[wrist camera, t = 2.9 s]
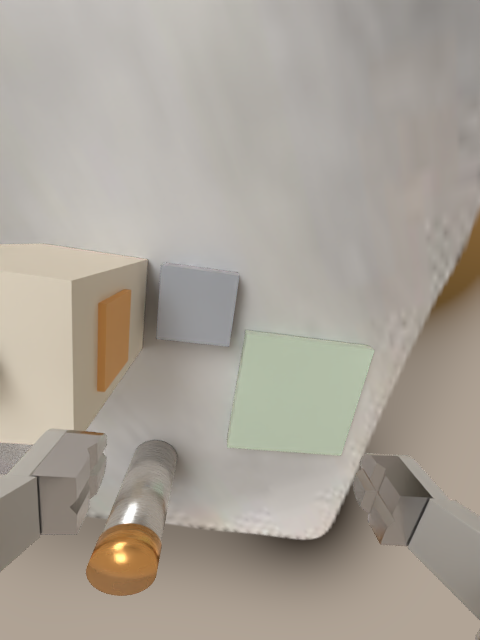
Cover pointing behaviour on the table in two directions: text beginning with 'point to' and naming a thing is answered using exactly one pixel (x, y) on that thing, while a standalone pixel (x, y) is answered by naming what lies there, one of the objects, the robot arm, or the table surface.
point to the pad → (296, 393)
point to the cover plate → (196, 304)
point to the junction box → (64, 335)
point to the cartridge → (135, 524)
